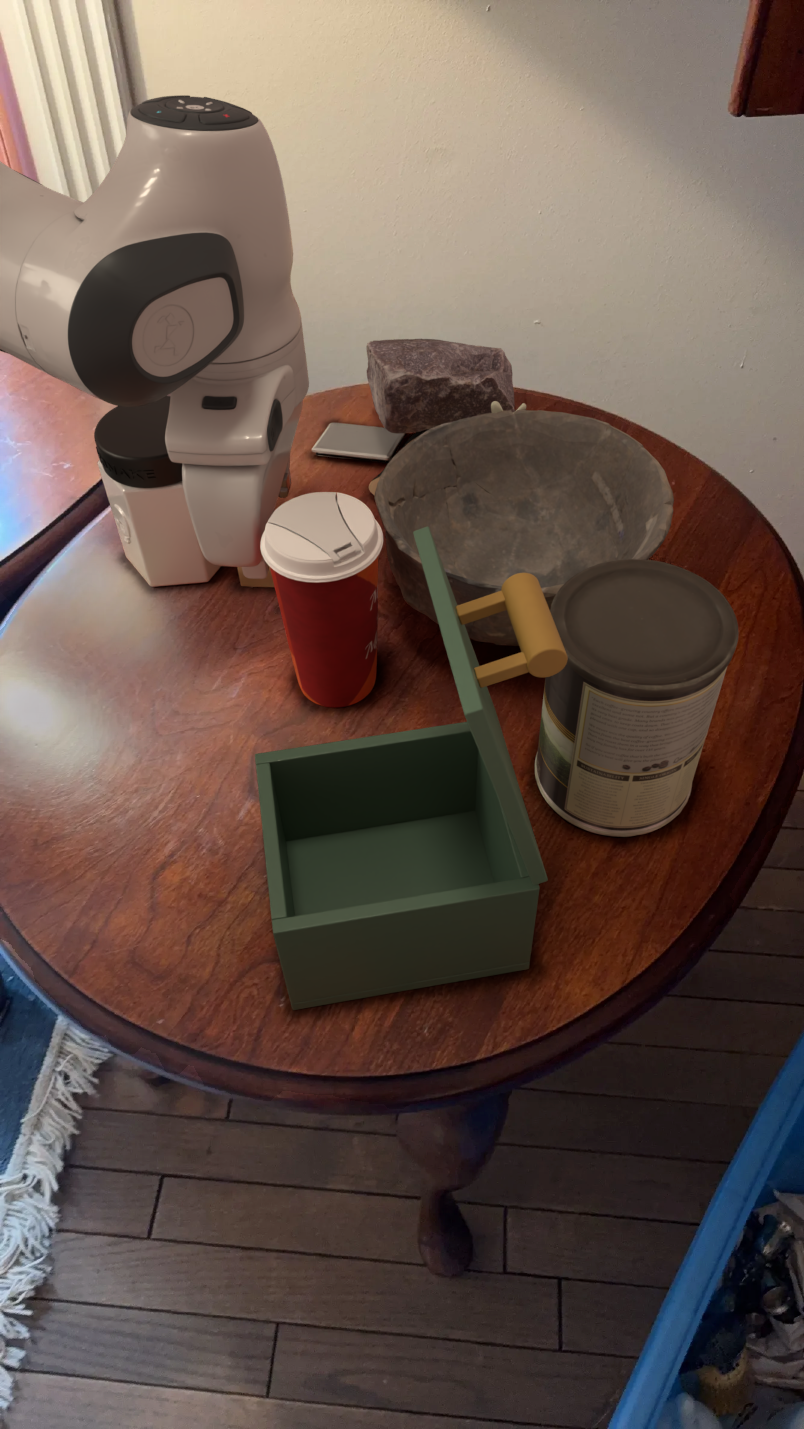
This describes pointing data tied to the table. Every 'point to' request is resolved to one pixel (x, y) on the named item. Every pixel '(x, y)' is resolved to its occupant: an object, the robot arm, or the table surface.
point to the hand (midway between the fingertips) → (269, 530)
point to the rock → (435, 382)
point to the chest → (390, 866)
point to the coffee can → (631, 694)
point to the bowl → (519, 505)
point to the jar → (149, 496)
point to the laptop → (358, 442)
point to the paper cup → (327, 592)
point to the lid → (496, 675)
